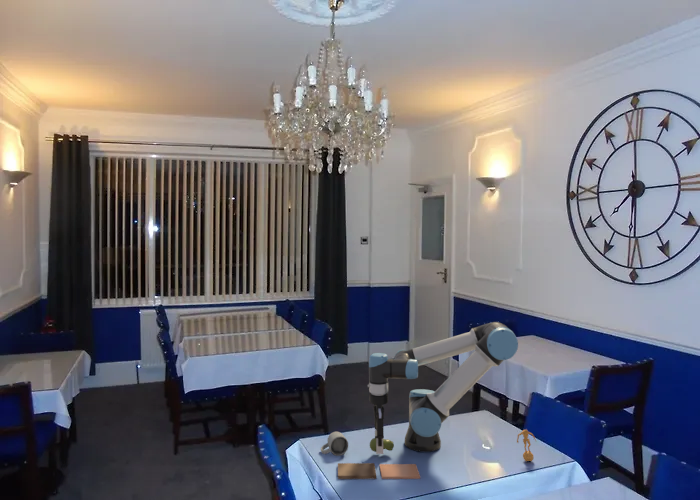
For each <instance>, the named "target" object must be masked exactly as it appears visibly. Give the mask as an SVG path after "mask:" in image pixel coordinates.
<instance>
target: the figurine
mask: <svg viewBox="0 0 700 500" xmlns="http://www.w3.org/2000/svg"><path fill="white" fill-rule="evenodd" d="M521 435H523V438H522V442H523V445H524V450H525V451H524V452H523V454H522V458H523V460H524V461H525V462H527V461H531V462H533V460H534V454H533V453H532V451H531V449H530V447H531V445H532V444H531V441H530V438H529V435H531V436H532V438H533V439H534V440H535V442H537V439H536V437H535V435H534V434H533V433H532V432H530V431H528V429H523V430H522V431H520V432H519V433H518V434H517V439H516V443H517V444H519V442H520V441H519V438H520V436H521Z"/></svg>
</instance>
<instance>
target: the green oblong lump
mask: <svg viewBox="0 0 700 500" xmlns="http://www.w3.org/2000/svg"><path fill="white" fill-rule="evenodd" d="M394 447H395V444H394V441H392V440H391V439H388V438H387V439H385V438H383V450H386V451H390V452H392V451H393V450H394V449H393V448H394ZM369 448H370V450H371V451H372V452H374V453H376V438H375V437H373V438H372V439H371V440H370V442H369Z"/></svg>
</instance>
